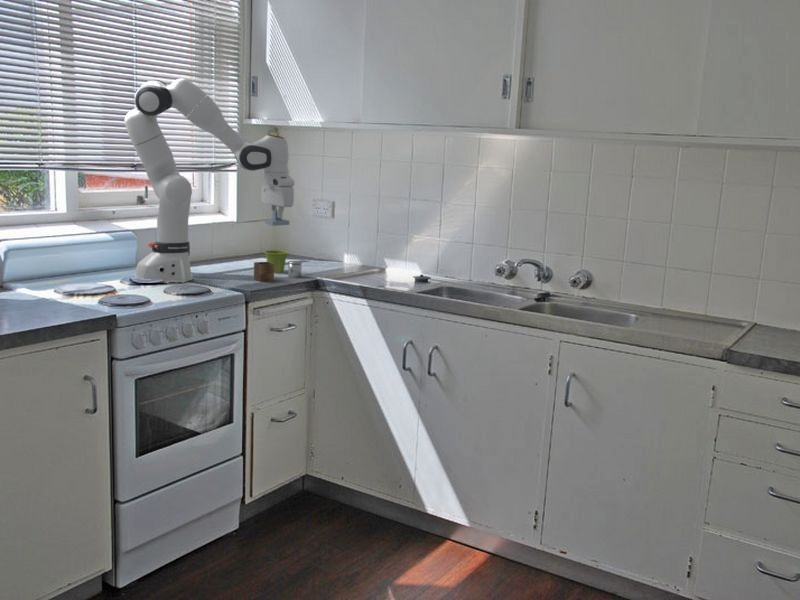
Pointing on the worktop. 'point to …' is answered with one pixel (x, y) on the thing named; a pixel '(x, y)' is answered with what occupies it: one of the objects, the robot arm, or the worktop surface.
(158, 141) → the robot arm
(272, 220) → the lid
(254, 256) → the worktop surface
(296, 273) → the tin
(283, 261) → the plant pot
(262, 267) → the canister
